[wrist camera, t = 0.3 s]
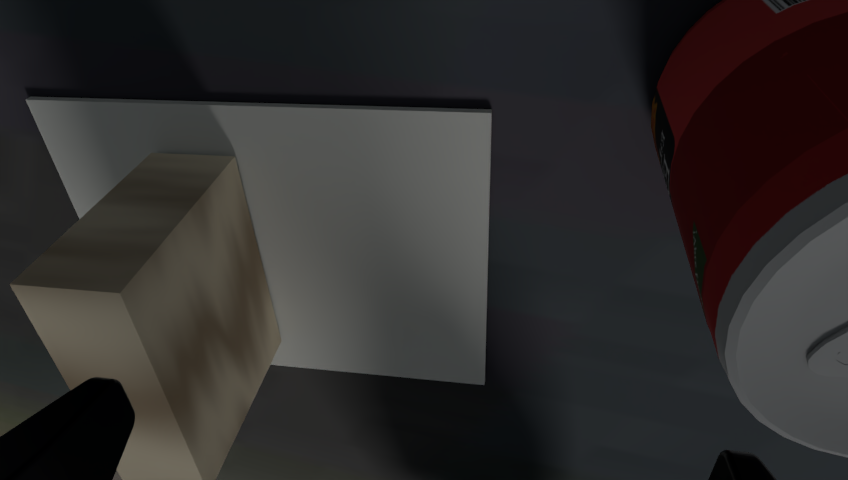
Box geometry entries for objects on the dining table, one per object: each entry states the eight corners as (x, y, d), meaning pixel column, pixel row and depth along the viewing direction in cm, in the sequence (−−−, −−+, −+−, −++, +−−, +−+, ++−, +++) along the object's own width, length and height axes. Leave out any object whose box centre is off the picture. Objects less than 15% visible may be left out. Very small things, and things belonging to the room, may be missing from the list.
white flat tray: (484, 380, 30) (484, 385, 29) (142, 347, 32) (139, 351, 32) (492, 109, 21) (491, 112, 21) (30, 96, 24) (25, 99, 24)
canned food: (597, 106, 21) (634, 341, 12) (818, -113, 16) (1138, 8, 7) (750, 230, 22) (881, 512, 14) (987, 65, 18) (1403, 327, 9)
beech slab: (282, 337, 30) (208, 493, 23) (215, 331, 30) (124, 482, 24) (237, 153, 24) (119, 293, 17) (154, 150, 24) (9, 284, 18)
